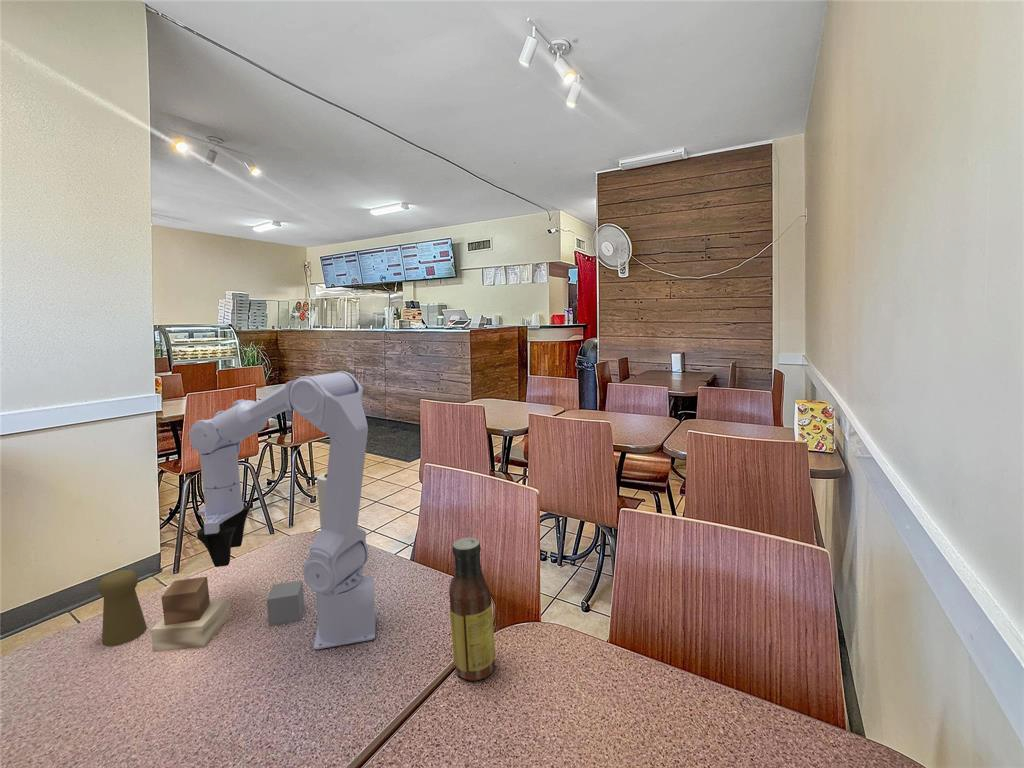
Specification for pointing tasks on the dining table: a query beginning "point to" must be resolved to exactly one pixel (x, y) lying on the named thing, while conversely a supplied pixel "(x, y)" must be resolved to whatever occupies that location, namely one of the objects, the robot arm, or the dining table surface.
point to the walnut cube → (185, 600)
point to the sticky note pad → (191, 629)
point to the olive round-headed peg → (121, 608)
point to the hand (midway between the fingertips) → (228, 555)
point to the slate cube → (285, 603)
